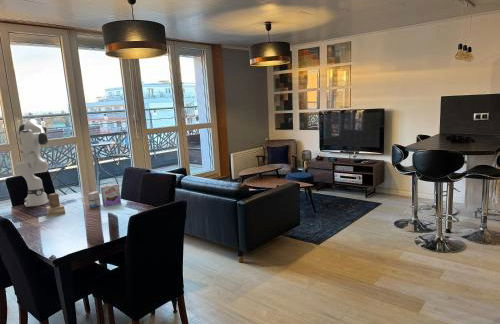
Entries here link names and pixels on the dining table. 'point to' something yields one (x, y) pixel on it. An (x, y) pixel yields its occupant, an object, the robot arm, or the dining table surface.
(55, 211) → the beech block
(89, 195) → the ink box
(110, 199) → the candy box
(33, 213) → the dining table surface
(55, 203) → the walnut pillar
